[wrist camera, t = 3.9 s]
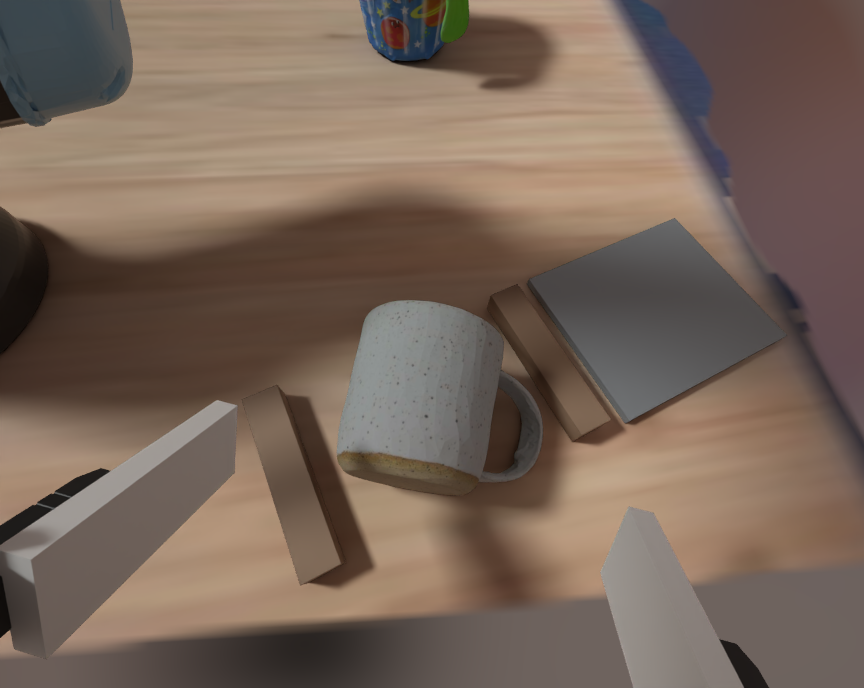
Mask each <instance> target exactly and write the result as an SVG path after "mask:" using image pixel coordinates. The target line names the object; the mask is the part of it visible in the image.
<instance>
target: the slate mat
mask: <svg viewBox="0 0 864 688" xmlns="http://www.w3.org/2000/svg"><path fill="white" fill-rule="evenodd" d="M527 285H528V286H529V288H530V289H531V290H532V292H533V293H534V295H535V296H536V298H537V299H538V300H539V302H540V303H541V305H542V306H543V308H544V309H545V310H546V312H547V313H548V315H549V316H550V317H551V319H552V320H553V322H554V323H555V325H556V326H557V327H558V329H559V330H560V332H561V333H562V335H563V336H564V337H565V339H566V340H567V342H568V343H569V344H570V346H571V347H572V349H573V350H574V352H575V353H576V354H577V356H578V357H579V359H580V360H581V362H582V363H583V364H584V366H585V367H586V369H587V370H588V371H589V373H590V374H591V376H592V377H593V379H594V380H595V381H596V383H597V384H598V386H599V387H600V389H601V390H602V391H603V393H604V394H605V396H606V397H607V399H608V400H609V401H610V403H611V404H612V406H613V407H614V408H615V410H616V411H617V413H618V414H619V416H620V417H621V418H622V420H623V421H624V423H627V422H629V421H631V420H632V419H634V418H636V417H638V416H640V415H642V414H644V413H645V412H647V411H649V410H651V409H653V408H655V407H656V406H658V405H660V404H662V403H664V402H666V401H668V400H669V399H671V398H673V397H675V396H677V395H679V394H680V393H682V392H684V391H686V390H688V389H690V388H692V387H693V386H695V385H697V384H699V383H701V382H703V381H704V380H706V379H708V378H710V377H712V376H714V375H716V374H717V373H719V372H721V371H723V370H725V369H727V368H728V367H730V366H732V365H734V364H736V363H738V362H740V361H741V360H743V359H745V358H747V357H749V356H751V355H752V354H754V353H756V352H758V351H760V350H762V349H764V348H765V347H767V346H769V345H771V344H773V343H775V342H776V341H778V340H780V339H782V338H784V337H785V336H787V335H786V334H785V333H784V331H783V330H782V329H781V328H780V327H779V326H778V325H777V324H776V323H775V322H774V321H773V320H772V319H771V318H770V317H769V316H768V315H767V314H766V313H765V312H764V311H763V310H762V309H761V307H760V306H759V305H758V304H757V303H756V302H755V301H754V300H753V299H752V298H751V297H750V296H749V295H748V294H747V293H746V292H745V291H744V290H743V289H742V288H741V287H740V286H739V285H738V283H737V282H736V281H735V280H734V279H733V278H732V277H731V276H730V275H729V274H728V273H727V272H726V271H725V270H724V269H723V268H722V267H721V266H720V265H719V264H718V263H717V262H716V261H715V259H714V258H713V257H712V256H711V255H710V254H709V253H708V252H707V251H706V250H705V249H704V248H703V247H702V246H701V245H700V244H699V243H698V242H697V241H696V240H695V239H694V238H693V237H692V235H691V234H690V233H689V232H688V231H687V230H686V229H685V228H684V227H683V226H682V225H681V224H680V223H679V222H678V221H677V220H676V219H675V218H674V219H671V220H669V221H667V222H664V223H662V224H660V225H657V226H655V227H652V228H650V229H648V230H645V231H643V232H640V233H638V234H636V235H633V236H631V237H628V238H626V239H624V240H621V241H619V242H617V243H614V244H612V245H609V246H607V247H605V248H602V249H600V250H597V251H595V252H593V253H590V254H588V255H585V256H583V257H581V258H578V259H576V260H574V261H571V262H569V263H566V264H564V265H562V266H559V267H557V268H554V269H552V270H550V271H547V272H545V273H542V274H540V275H538V276H535V277H533V278H531V279H529V281H528V283H527Z"/></svg>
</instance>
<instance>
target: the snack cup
mask: <svg viewBox="0 0 864 688" xmlns="http://www.w3.org/2000/svg"><path fill="white" fill-rule="evenodd" d="M360 4H361V10H362V14H363V18H364V22H365V27H366V30H367V34H368V39H369V42H370V43H371V44H372V46H373V48H374V49H375V50H377V51H378V52H379V53H381V54H383V55H385V56H386V57H387V58H389V59H390V60H392V61H394V60H401V61H412V60H420V59H429V58H430V57H432V56H433V54H434V53H436V52H437V51H438V50H439V49H440V48H441V47H442V46H443V44H444V42H445V43H450V42H452V41H455V40H457V39H458V38H460V37H461V36H462V35H463V34H464V33H465V31H466V29H467V26H468V22H469V3H468V0H360Z"/></svg>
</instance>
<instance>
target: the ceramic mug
mask: <svg viewBox="0 0 864 688" xmlns="http://www.w3.org/2000/svg"><path fill="white" fill-rule="evenodd" d="M503 349H504V342H503V339H502V337H501V335H500V334H499V332H498V331H497V330H496V329H495V328H494V327H493V326H492V325H491V324H489V323H488V322H486V321H485V320H484V319H482V318H480V317H478V316H476V315H474V314H472V313H470V312H467V311H465V310H463V309H460V308H457V307H453V306H450V305H446V304H442V303H437V302H431V301H419V300H401V301H393V302H388V303H385V304H382V305H380V306H378V307H376V308H374V309H373V310H371V311H370V312H369V314H368V315H367V316H366V318H365V320H364V323H363V328H362V333H361V338H360V342H359V346H358V350H357V354H356V358H355V362H354V366H353V371H352V375H351V380H350V385H349V389H348V394H347V398H346V402H345V406H344V409H343V413H342V417H341V421H340V426H339V433H338V445H337V460H338V463H339V465H340V467H341V468H342V469H343V471H344V472H346V473H348V474H349V475H352V476H355V477H358V478H361V479H365V480H368V481H373V482H377V483H381V484H385V485H390V486H394V487H399V488H405V489H410V490H416V491H422V492H428V493H435V494H443V495H465V494H468V493H469V492H470V491H472V490H473V489H474V488H475V487H476V486H477V483H478V482H506V481H511V480H515V479H517V478H520V477H522V476H523V475H524V474H525V473H527V472H528V471H529V470H530V469H531V467H532V466H533V465H534V464H535V462H536V460H537V458H538V455H539V452H540V449H541V445H542V438H543V422H542V417H541V413H540V410H539V408H538V405H537V404H536V402H535V400H534V398H533V397H532V395H531V394H530V393H529V392H528V390H527V389H526V388H525V387H524V386H523V385H522V384H521V383H520V382H519V381H517V380H516V379H515V378H513V377H512V376H510V375H509V374H507V373H505V372H504V371H502V370H501V365H502V360H503ZM498 387H499V388H500V389H502V390H503V391H504V392H505V393H507V394H508V395H509V396H510V397H511V398H512V400H513V401H514V403H515V404H516V406H517V408H518V410H519V411H520V414H521V421H522V429H521V434H520V440H519V445H518V449H517V451H516V452H515V453H514V464H513V465H512V466H511V467H510V468H509V469H507V470H505V471H503V472H502V473H490V472H484V471H483V468H484V465H485V461H486V456H487V450H488V444H489V438H490V427H491V420H492V414H493V408H494V403H495V399H496V393H497V388H498Z"/></svg>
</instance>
